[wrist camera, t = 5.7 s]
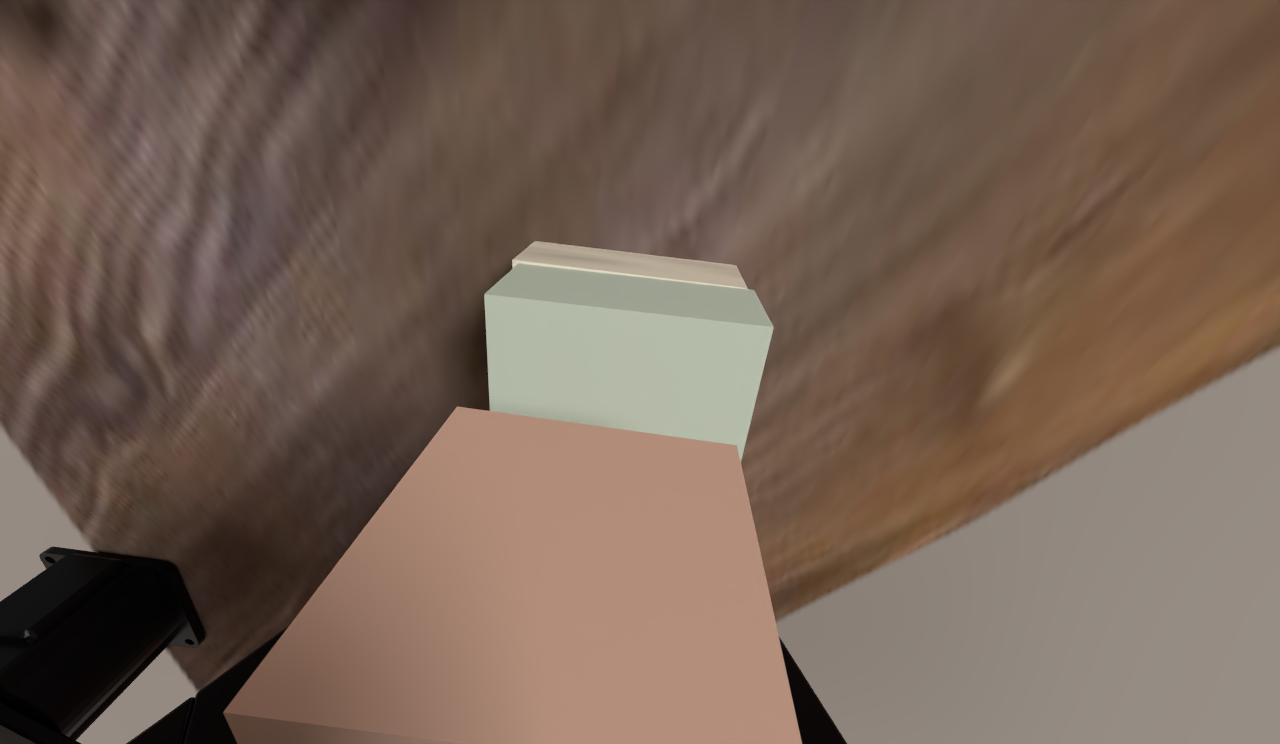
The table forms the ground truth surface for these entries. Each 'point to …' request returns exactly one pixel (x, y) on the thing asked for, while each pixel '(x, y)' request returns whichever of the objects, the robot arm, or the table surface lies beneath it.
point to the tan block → (538, 602)
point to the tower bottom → (630, 264)
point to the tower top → (626, 352)
